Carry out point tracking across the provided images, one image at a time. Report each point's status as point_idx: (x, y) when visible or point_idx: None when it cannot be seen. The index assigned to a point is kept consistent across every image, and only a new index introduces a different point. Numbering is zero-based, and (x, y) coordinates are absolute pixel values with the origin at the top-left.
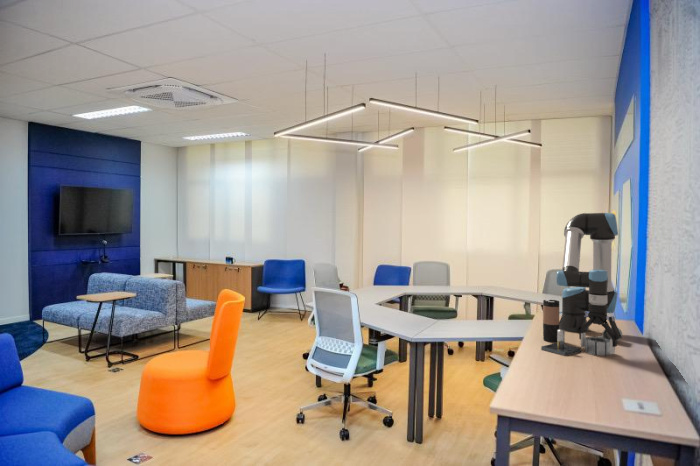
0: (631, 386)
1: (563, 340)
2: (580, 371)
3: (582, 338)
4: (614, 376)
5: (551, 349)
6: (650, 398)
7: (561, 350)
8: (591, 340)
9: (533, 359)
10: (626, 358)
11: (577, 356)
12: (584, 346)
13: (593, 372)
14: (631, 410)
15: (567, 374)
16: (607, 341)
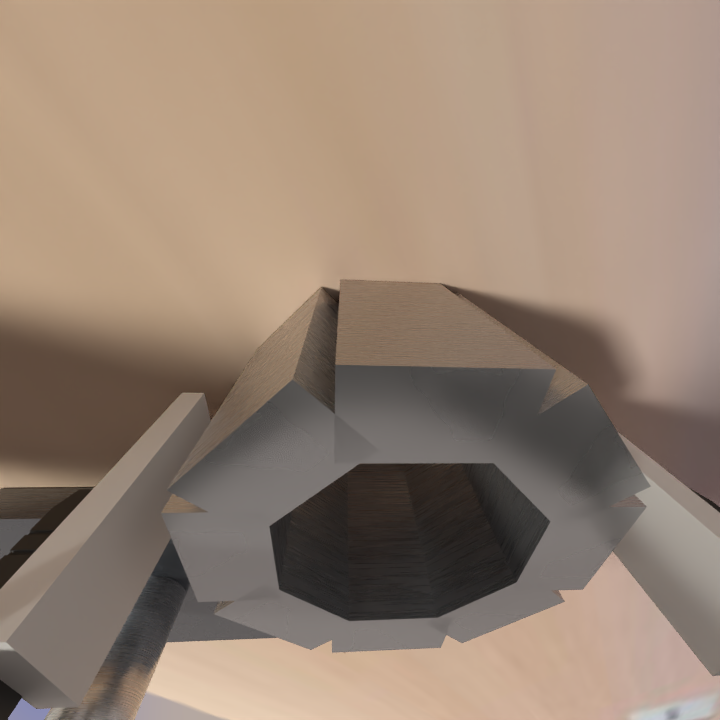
0: (660, 669)
1: (143, 695)
2: (470, 677)
3: (153, 567)
4: (598, 649)
5: (172, 637)
6: (707, 688)
7: (232, 627)
8: (370, 634)
9: (252, 696)
10: (665, 369)
11: None
12: (206, 417)
13: (515, 662)
14: None
15: (448, 705)
16: (591, 545)
